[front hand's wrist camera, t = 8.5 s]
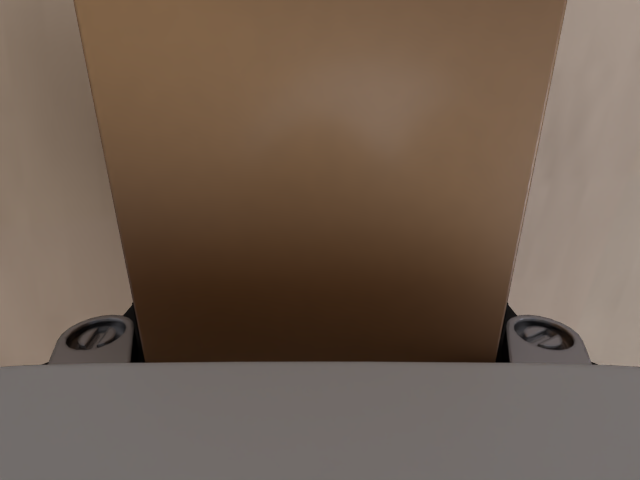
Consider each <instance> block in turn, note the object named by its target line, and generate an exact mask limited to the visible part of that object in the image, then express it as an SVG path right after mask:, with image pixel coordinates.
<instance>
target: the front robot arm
mask: <svg viewBox="0 0 640 480" xmlns="http://www.w3.org/2000/svg"><path fill="white" fill-rule="evenodd" d="M0 480H640V367H631V366H615V365H598V364H595V363H593V362H591V360H590V358H589V355H588V353H587V350H586V348H585V345H584V343H583V340H582V339H581V338H580V336H579V335H578V334H577V333H576V332H575V331H574V330H572V329H571V328H570V327H568V326H566V325H564V324H562V323H560V322H558V321H555V320H552V319H549V318H545V317H541V316H534V315H519V316H517V315H516V314H515V313H514V311H513V310H512V309H511V308H510V307H509V305H508V302H507V306H506V311H505V316H504V321H503V326H502V331H501V336H500V341H499V346H498V351H497V356H496V361H495V363H467V362H171V363H145V359H144V354H143V349H142V344H141V339H140V334H139V329H138V323H137V318H136V313H135V308H134V303H132V306H131V307H130V308H129V309H128V311H127V312H126V313H125V314H124V315H123V316H121V315H106V316H99V317H95V318H91V319H88V320H85V321H82V322H80V323H78V324H76V325H74V326H72V327H70V328H69V329H68V330H66V331H65V332H64V333H63V334H62V335H61V336H60V338H59V339H58V340H57V343H56V345H55V348H54V350H53V353H52V355H51V358H50V360H49V362H47V363H45V364H42V365H23V366H9V367H0Z"/></svg>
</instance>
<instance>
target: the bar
mask: <svg viewBox="0 0 640 480" xmlns="http://www.w3.org/2000/svg"><path fill="white" fill-rule="evenodd" d="M566 4H567V0H74V5H75V10H76V16H77V21H78V26H79V31H80V36H81V41H82V46H83V51H84V56H85V61H86V66H87V71H88V76H89V81H90V86H91V91H92V96H93V101H94V106H95V111H96V117H97V122H98V127H99V132H100V137H101V142H102V147H103V152H104V157H105V162H106V167H107V172H108V177H109V182H110V187H111V192H112V197H113V202H114V207H115V212H116V217H117V223H118V228H119V233H120V238H121V243H122V248H123V253H124V258H125V263H126V268H127V273H128V278H129V283H130V288H131V293H132V298H133V303H134V308H135V313H136V318H137V323H138V329H139V334H140V339H141V344H142V349H143V354H144V359H145V363H171V362H467V363H495V361H496V356H497V351H498V346H499V341H500V336H501V331H502V326H503V321H504V316H505V311H506V306H507V301H508V296H509V291H510V286H511V281H512V276H513V271H514V266H515V261H516V255H517V250H518V245H519V240H520V235H521V230H522V225H523V220H524V215H525V210H526V205H527V200H528V195H529V190H530V185H531V180H532V175H533V170H534V165H535V160H536V155H537V150H538V145H539V140H540V135H541V130H542V125H543V120H544V115H545V110H546V105H547V99H548V94H549V89H550V84H551V79H552V74H553V69H554V64H555V59H556V54H557V49H558V44H559V39H560V34H561V29H562V24H563V19H564V14H565V9H566Z"/></svg>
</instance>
